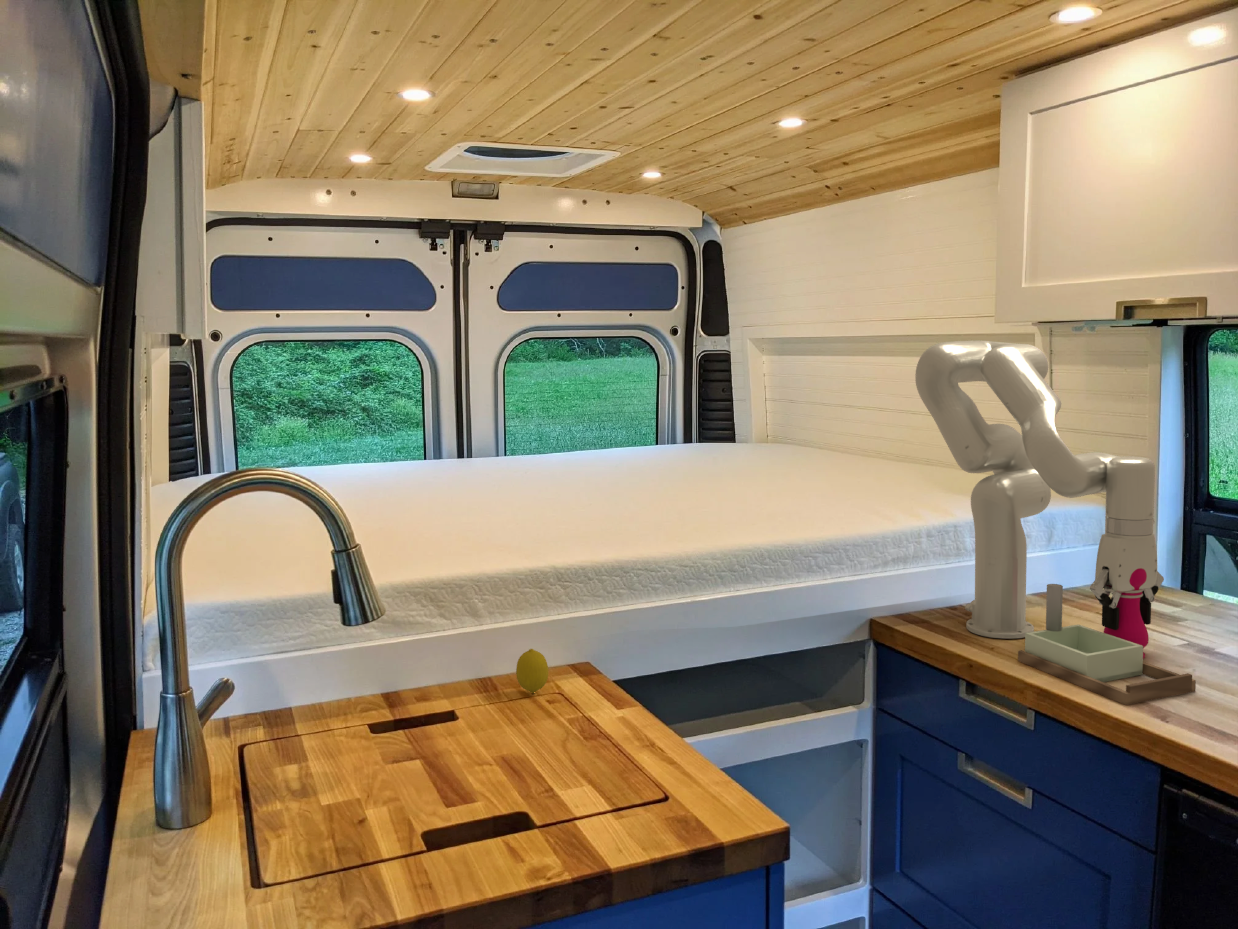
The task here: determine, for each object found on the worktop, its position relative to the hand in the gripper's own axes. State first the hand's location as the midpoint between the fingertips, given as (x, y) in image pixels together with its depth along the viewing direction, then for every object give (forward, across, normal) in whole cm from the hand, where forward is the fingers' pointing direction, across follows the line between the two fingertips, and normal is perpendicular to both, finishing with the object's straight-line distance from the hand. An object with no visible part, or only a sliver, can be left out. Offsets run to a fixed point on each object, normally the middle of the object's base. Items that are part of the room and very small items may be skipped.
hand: (1126, 624), depth 173 cm
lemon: (+7, +102, -29) cm, 106 cm away
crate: (+5, +12, +2) cm, 13 cm away
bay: (+7, +12, +6) cm, 15 cm away
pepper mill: (+7, 0, 0) cm, 7 cm away
